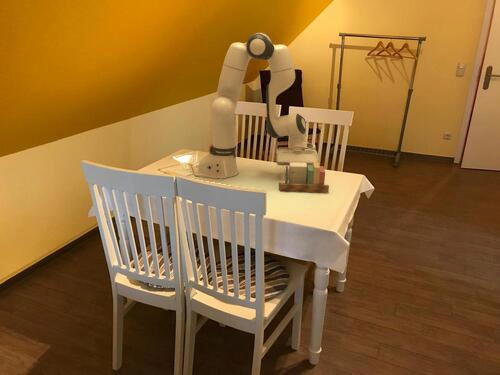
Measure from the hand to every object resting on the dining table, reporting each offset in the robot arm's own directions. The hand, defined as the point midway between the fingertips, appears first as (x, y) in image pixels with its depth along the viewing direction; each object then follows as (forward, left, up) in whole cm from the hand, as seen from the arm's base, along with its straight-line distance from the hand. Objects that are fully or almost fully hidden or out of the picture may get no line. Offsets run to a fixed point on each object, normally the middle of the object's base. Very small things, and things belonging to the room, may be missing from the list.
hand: (297, 173), depth 202 cm
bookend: (-7, -6, -5) cm, 10 cm away
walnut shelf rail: (+3, -11, -5) cm, 13 cm away
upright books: (+8, -6, -5) cm, 11 cm away
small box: (0, -3, -5) cm, 6 cm away
